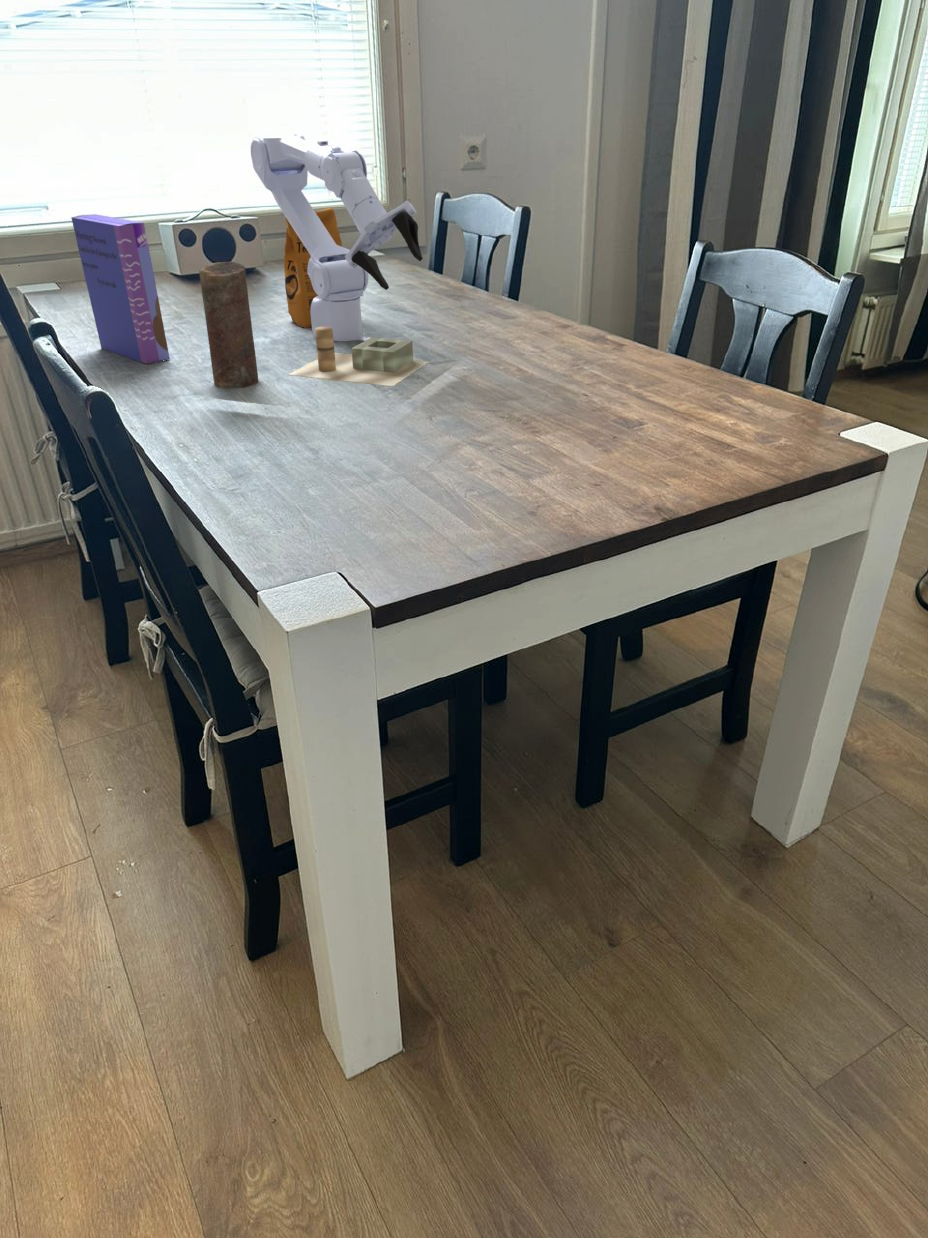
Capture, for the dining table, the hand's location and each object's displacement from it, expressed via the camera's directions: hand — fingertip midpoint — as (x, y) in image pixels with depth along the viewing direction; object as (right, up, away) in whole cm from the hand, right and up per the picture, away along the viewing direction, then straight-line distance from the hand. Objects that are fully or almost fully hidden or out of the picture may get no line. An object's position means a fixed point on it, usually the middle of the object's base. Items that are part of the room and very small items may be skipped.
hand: (401, 272), depth 149 cm
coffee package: (-21, +5, +40) cm, 46 cm away
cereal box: (-53, -8, +20) cm, 57 cm away
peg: (-13, -16, +4) cm, 21 cm away
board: (-8, -16, +5) cm, 19 cm away
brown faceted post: (-28, -21, -1) cm, 35 cm away
